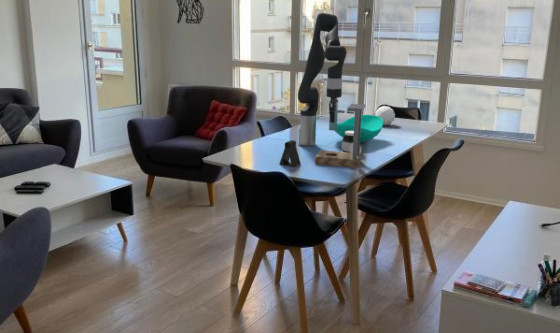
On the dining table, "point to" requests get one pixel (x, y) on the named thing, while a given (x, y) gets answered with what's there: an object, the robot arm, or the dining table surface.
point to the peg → (334, 125)
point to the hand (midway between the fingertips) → (333, 121)
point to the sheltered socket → (345, 157)
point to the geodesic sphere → (386, 115)
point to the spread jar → (348, 142)
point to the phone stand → (290, 155)
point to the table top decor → (362, 127)
